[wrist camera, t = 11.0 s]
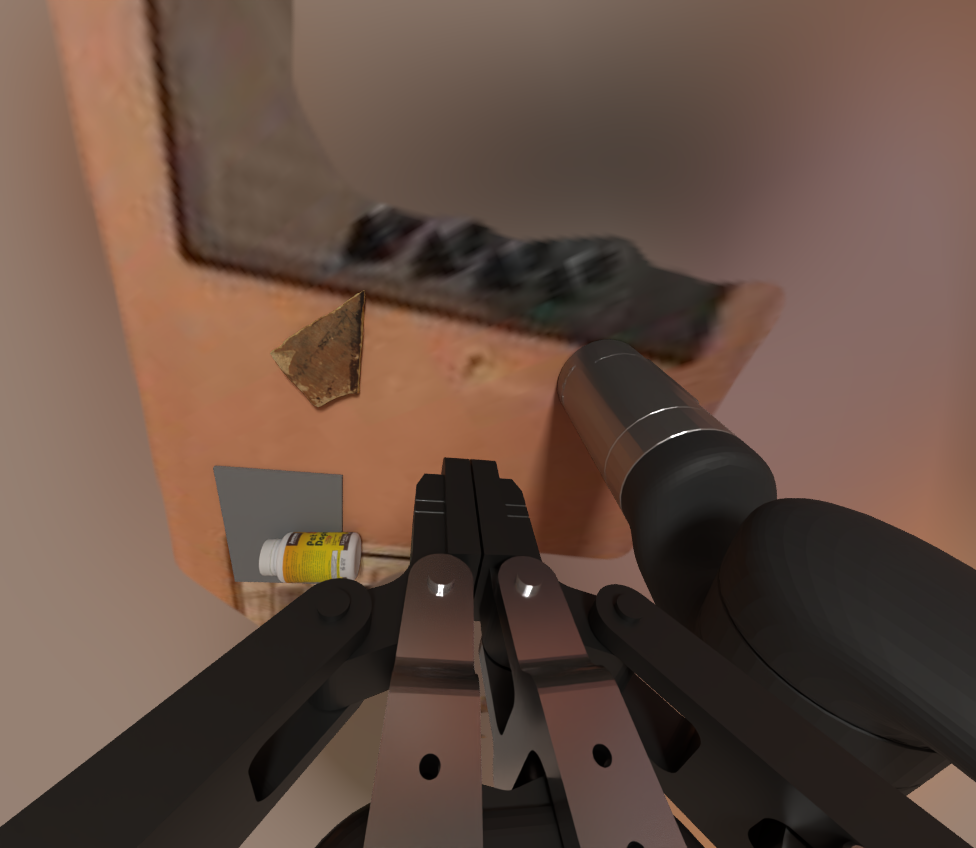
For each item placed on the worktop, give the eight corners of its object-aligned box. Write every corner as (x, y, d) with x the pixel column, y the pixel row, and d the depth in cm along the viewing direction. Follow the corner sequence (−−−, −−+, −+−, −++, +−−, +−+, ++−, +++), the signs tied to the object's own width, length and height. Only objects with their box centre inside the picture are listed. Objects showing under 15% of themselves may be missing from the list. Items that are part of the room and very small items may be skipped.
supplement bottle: (354, 540, 45) (255, 541, 43) (353, 590, 45) (254, 592, 44) (362, 525, 50) (275, 525, 49) (361, 569, 51) (274, 571, 49)
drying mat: (342, 474, 45) (341, 477, 45) (342, 581, 54) (341, 584, 54) (214, 465, 43) (213, 467, 43) (236, 578, 52) (235, 581, 51)
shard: (366, 286, 36) (363, 291, 34) (415, 355, 40) (414, 362, 38) (271, 346, 38) (264, 353, 36) (326, 407, 42) (322, 416, 40)
